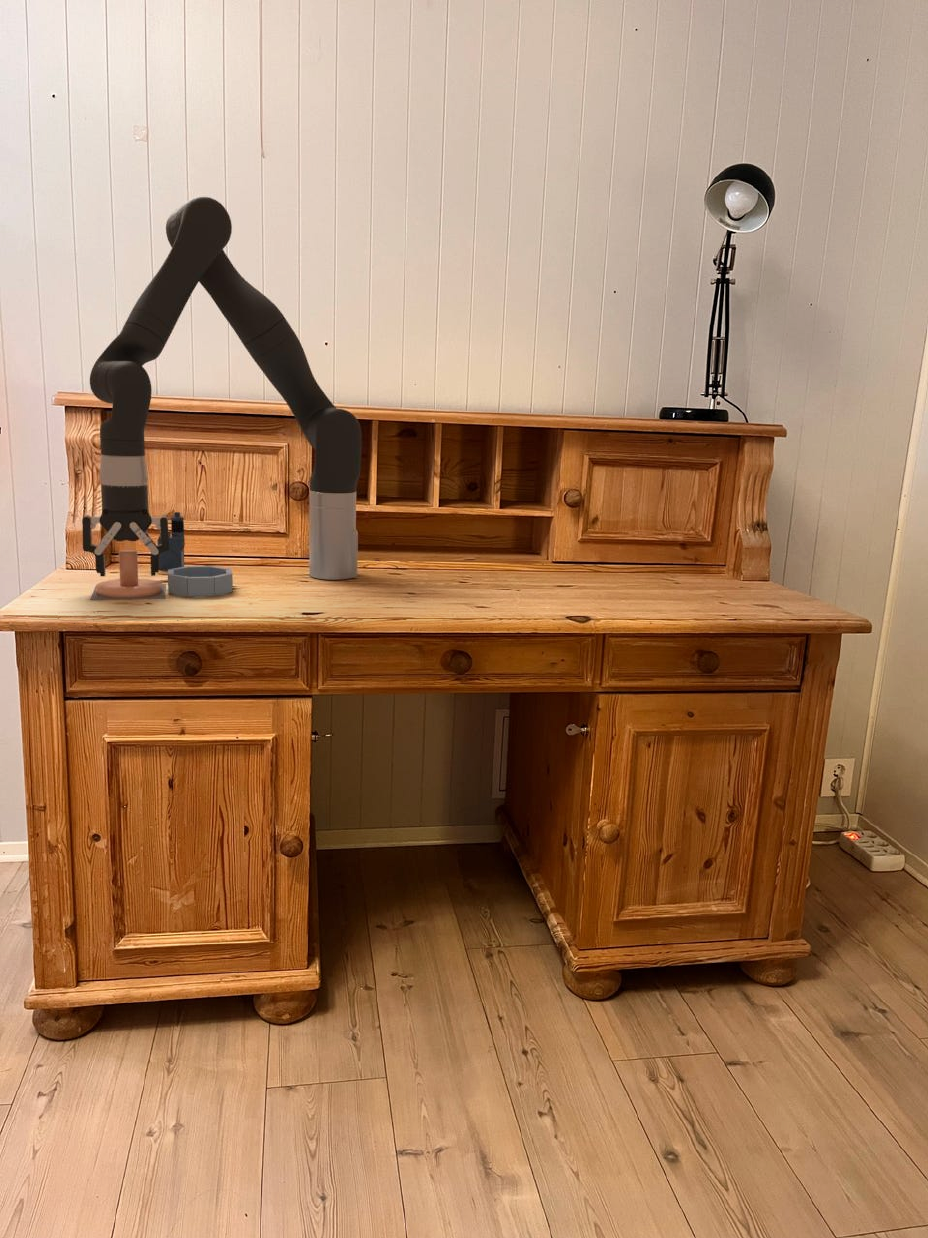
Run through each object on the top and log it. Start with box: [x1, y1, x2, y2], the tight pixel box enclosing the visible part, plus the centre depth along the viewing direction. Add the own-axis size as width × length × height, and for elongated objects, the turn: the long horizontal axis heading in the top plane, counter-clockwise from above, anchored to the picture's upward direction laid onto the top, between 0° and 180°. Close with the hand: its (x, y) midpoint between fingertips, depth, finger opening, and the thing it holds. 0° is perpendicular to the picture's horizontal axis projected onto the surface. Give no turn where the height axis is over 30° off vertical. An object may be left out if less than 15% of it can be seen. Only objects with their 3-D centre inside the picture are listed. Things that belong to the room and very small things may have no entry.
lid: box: [95, 549, 163, 599], centre depth 157 cm, size 11×11×7 cm
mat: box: [89, 583, 167, 601], centre depth 158 cm, size 12×12×1 cm
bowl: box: [167, 565, 234, 598], centre depth 161 cm, size 11×11×4 cm
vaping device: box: [157, 511, 186, 572], centre depth 177 cm, size 3×5×12 cm, turn 89°
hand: (128, 575), depth 157 cm, fingers open, 8 cm apart
